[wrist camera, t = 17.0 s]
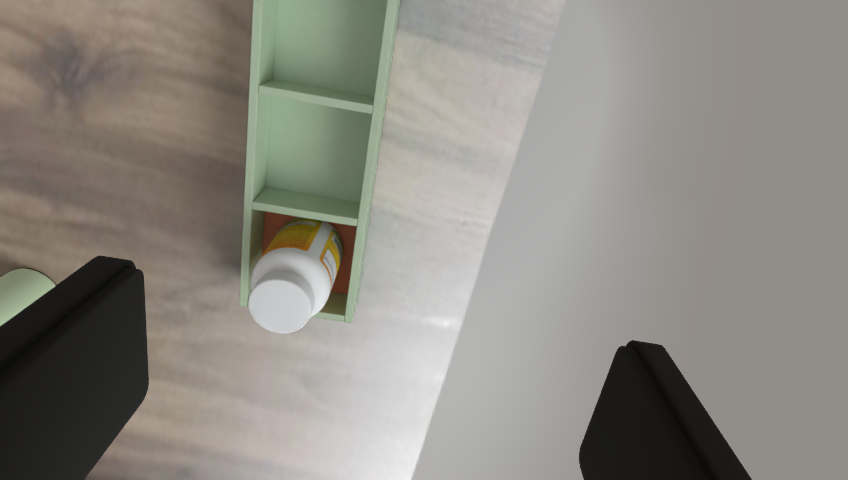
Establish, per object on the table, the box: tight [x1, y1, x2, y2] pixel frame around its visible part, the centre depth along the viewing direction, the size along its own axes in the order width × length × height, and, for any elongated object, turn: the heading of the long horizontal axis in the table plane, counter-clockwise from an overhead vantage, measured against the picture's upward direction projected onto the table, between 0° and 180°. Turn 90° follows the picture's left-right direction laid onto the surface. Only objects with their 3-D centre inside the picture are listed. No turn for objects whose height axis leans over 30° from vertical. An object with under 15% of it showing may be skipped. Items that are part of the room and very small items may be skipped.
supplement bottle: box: [248, 217, 343, 333], centre depth 38 cm, size 5×5×10 cm
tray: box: [239, 0, 401, 323], centre depth 39 cm, size 9×25×4 cm, turn 170°
